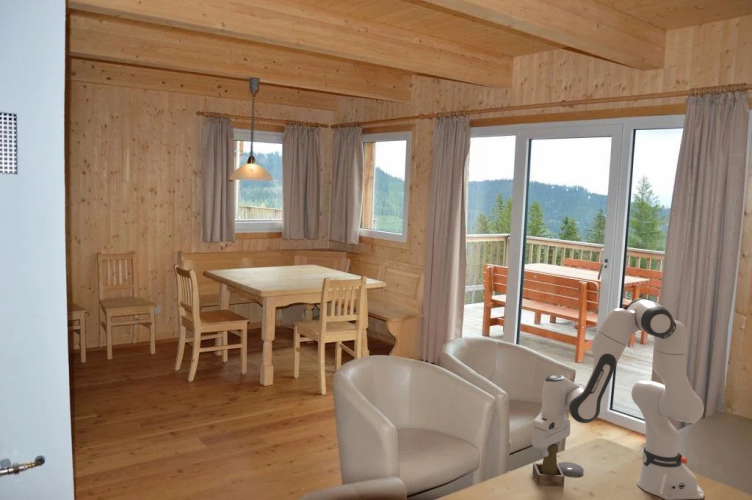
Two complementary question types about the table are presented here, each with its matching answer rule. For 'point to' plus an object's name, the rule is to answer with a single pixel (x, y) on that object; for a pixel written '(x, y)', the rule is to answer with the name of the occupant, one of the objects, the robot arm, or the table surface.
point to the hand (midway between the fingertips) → (550, 453)
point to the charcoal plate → (571, 469)
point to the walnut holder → (548, 476)
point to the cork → (550, 461)
